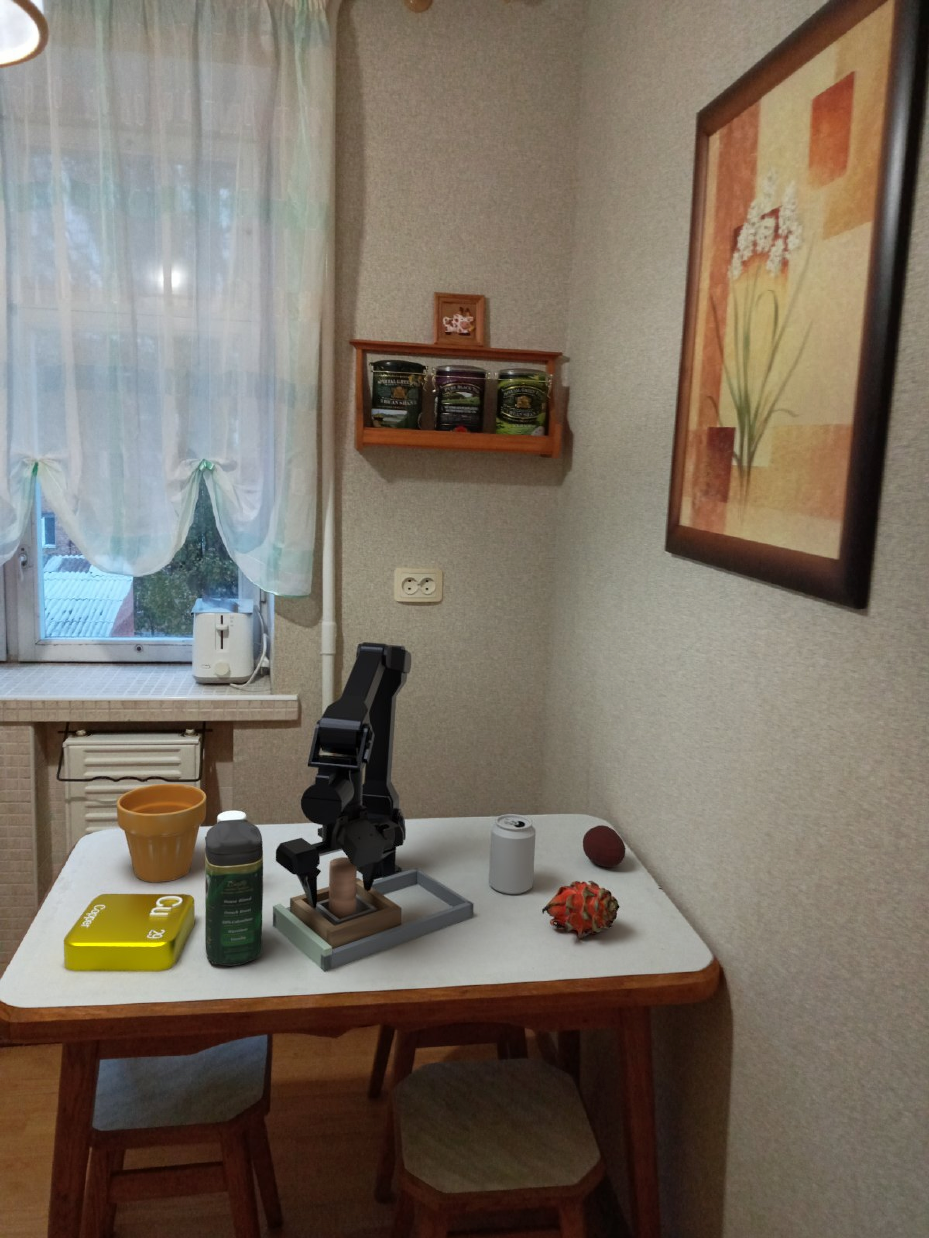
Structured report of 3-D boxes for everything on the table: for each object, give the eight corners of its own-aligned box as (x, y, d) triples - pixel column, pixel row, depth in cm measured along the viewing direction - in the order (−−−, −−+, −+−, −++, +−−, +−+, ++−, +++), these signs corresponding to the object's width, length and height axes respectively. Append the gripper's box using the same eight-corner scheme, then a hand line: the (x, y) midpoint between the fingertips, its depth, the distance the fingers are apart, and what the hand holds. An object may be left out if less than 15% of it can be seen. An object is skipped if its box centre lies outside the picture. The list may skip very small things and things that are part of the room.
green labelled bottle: (265, 964, 124) (266, 838, 121) (207, 971, 122) (205, 843, 119) (259, 929, 133) (259, 812, 130) (204, 936, 131) (203, 816, 128)
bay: (272, 927, 134) (272, 905, 134) (415, 881, 151) (416, 862, 150) (324, 973, 123) (324, 949, 122) (472, 918, 139) (473, 897, 139)
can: (529, 900, 146) (533, 831, 144) (484, 894, 147) (487, 825, 145) (535, 880, 153) (538, 814, 151) (492, 874, 155) (495, 809, 153)
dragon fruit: (624, 944, 137) (546, 952, 136) (612, 892, 142) (538, 901, 142) (627, 919, 130) (546, 928, 130) (615, 866, 136) (537, 875, 136)
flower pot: (221, 858, 157) (220, 787, 155) (182, 894, 143) (181, 818, 141) (146, 849, 159) (145, 779, 157) (101, 884, 145) (99, 809, 143)
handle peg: (323, 924, 133) (324, 861, 131) (346, 916, 136) (348, 854, 134) (337, 935, 130) (338, 871, 128) (360, 927, 132) (361, 864, 131)
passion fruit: (603, 878, 155) (605, 840, 154) (573, 859, 162) (575, 823, 161) (635, 870, 159) (638, 833, 158) (604, 851, 166) (607, 816, 165)
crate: (289, 925, 134) (290, 898, 133) (357, 904, 142) (358, 877, 141) (330, 961, 125) (331, 931, 124) (400, 936, 133) (401, 908, 132)
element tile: (97, 918, 136) (96, 889, 135) (197, 919, 136) (197, 890, 136) (59, 973, 121) (58, 941, 120) (172, 973, 122) (171, 941, 121)
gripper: (313, 831, 117) (312, 940, 120) (427, 802, 129) (423, 902, 132) (274, 804, 126) (273, 907, 128) (384, 779, 137) (381, 874, 140)
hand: (340, 898), depth 132 cm, fingers open, 9 cm apart
